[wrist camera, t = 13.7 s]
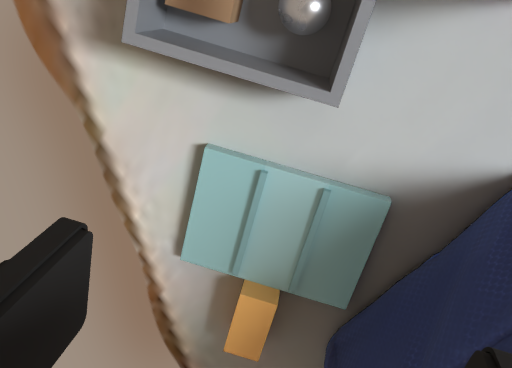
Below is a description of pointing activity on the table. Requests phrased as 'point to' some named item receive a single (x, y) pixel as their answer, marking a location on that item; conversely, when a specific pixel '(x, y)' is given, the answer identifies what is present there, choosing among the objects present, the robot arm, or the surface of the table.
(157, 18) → the tub
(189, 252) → the lid
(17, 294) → the robot arm
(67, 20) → the table surface
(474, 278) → the lunch bag
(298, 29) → the metal part
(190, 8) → the walnut block
